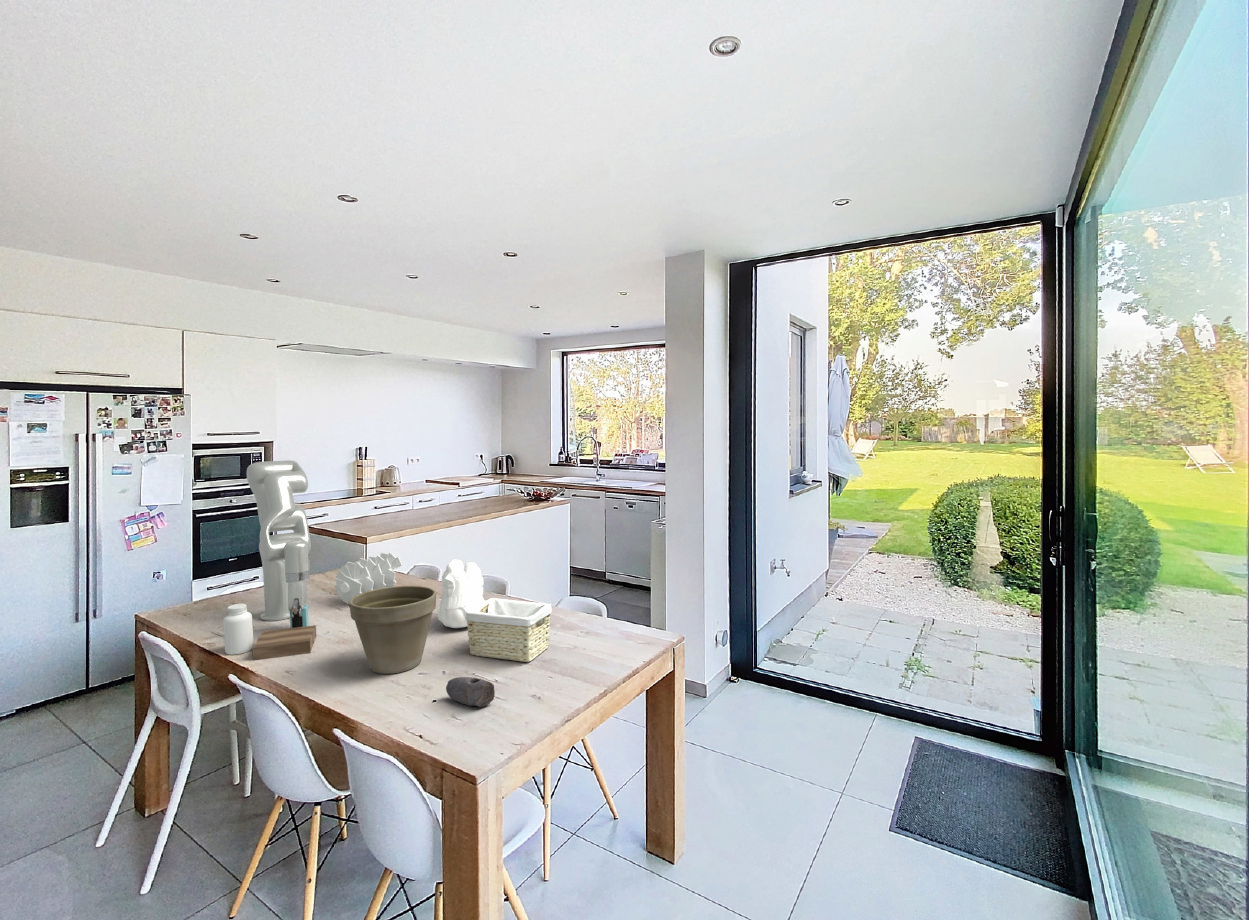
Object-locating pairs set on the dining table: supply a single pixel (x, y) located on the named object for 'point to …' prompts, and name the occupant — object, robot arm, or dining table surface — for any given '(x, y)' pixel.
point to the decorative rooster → (459, 593)
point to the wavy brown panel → (284, 642)
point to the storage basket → (508, 629)
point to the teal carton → (304, 615)
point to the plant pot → (393, 625)
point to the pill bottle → (238, 630)
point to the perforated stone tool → (471, 691)
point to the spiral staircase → (366, 575)
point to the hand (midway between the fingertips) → (299, 623)
